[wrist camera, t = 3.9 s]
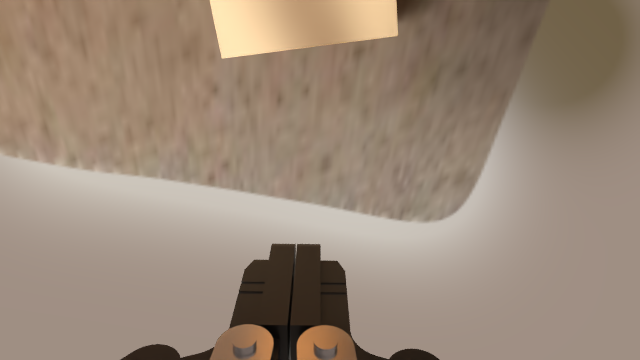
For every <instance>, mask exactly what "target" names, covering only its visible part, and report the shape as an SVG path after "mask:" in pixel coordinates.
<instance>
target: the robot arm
mask: <svg viewBox="0 0 640 360" xmlns="http://www.w3.org/2000/svg"><path fill="white" fill-rule="evenodd" d="M121 360H439V359H438V358H436V357H435V356H434V355H432V354H430V353H428V352H426V351H423V350H419V349H405V350H401V351H398V352H396V353H395V354H393V355H392V356H391V357H390V359H386V358H382V357H378V356H375V355H372V354H370V353H368V352H366V351H364V350H363V349H361V348H360V347H359V346H358V345H357V344H356V343H355V341H354V340H353V338H352V336H351V332H350V324H349V311H348V300H347V288H346V278H345V271H344V270H343V268H342V267H341V265H340V264H339V263H338V261H320V244H297V253H296V245H295V244H272V246H271V251H270V257H269V260H254V261H253V262H252V263H251V264H250V265H249V266H248V267H247V268H246V269H245V271H244V274H243V278H242V284H241V286H240V290H239V294H238V297H237V301H236V305H235V309H234V312H233V316H232V320H231V324H230V328H229V329H228V330H227V331H225V332H224V333H223V334H222V335H221V336H220V337H219V338H218V340H217V342H216V345H215V347H213V348H212V349H210V350H207V351H205V352H202V353H199V354H195V355H191V356H187V357H183V358H180V355H179V353H178V352H177V351H176V350H175V349H174V348H172V347H170V346H167V345H160V344H156V345H149V346H145V347H142V348H140V349H137V350H135V351H134V352H132V353H130V354H129V355H127V356H126V357H124V358H123V359H121Z"/></svg>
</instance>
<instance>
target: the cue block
mask: <svg viewBox="0 0 640 360" xmlns="http://www.w3.org/2000/svg"><path fill="white" fill-rule="evenodd" d="M210 4H211V8H212V13H213V18H214V23H215V28H216V32H217V37H218V42H219V47H220V51H221V56H222V58H229V57H237V56H245V55H253V54H261V53H268V52H276V51H284V50H292V49H299V48H307V47H315V46H323V45H330V44H338V43H346V42H354V41H362V40H369V39H377V38H385V37H393V36H398V25H397V4H396V0H210Z"/></svg>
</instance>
